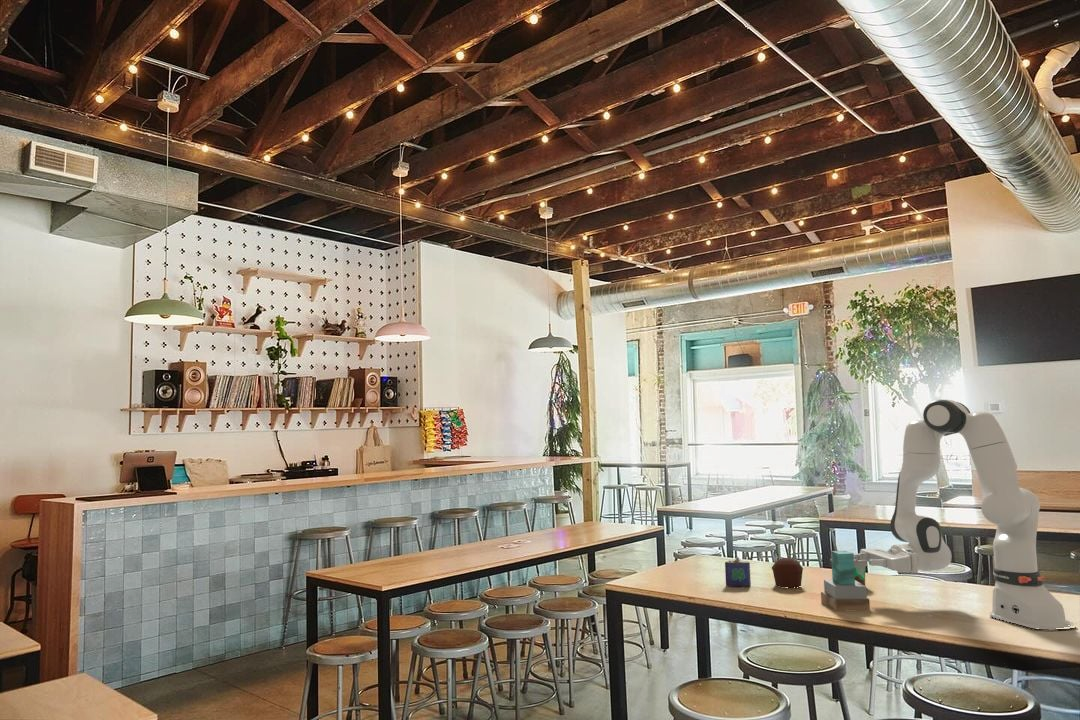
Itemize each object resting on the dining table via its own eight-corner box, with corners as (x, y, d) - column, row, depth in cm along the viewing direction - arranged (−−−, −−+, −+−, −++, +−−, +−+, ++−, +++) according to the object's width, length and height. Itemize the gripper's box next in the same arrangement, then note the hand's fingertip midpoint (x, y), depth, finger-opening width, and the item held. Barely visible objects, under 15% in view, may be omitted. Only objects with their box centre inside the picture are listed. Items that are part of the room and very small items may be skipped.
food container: (872, 590, 256) (870, 562, 257) (854, 590, 258) (852, 561, 258) (864, 582, 268) (862, 555, 269) (846, 582, 270) (845, 555, 270)
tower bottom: (870, 611, 231) (869, 598, 231) (837, 612, 230) (836, 599, 230) (852, 602, 242) (852, 590, 242) (821, 604, 241) (820, 591, 241)
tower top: (866, 598, 231) (866, 586, 231) (835, 599, 231) (834, 586, 231) (854, 591, 241) (853, 579, 241) (824, 591, 241) (823, 579, 241)
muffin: (775, 581, 273) (773, 555, 274) (805, 583, 268) (804, 556, 269) (770, 588, 263) (769, 560, 264) (802, 590, 258) (800, 562, 259)
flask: (749, 585, 268) (748, 556, 269) (751, 587, 265) (750, 557, 266) (725, 585, 268) (723, 556, 269) (726, 587, 266) (725, 558, 266)
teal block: (855, 584, 234) (853, 553, 235) (840, 585, 233) (839, 553, 234) (846, 581, 239) (845, 550, 240) (832, 581, 238) (831, 551, 239)
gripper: (882, 543, 249) (845, 545, 248) (919, 553, 229) (878, 555, 227) (884, 562, 248) (846, 563, 247) (920, 574, 228) (879, 575, 227)
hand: (862, 559), depth 237 cm, fingers open, 8 cm apart
